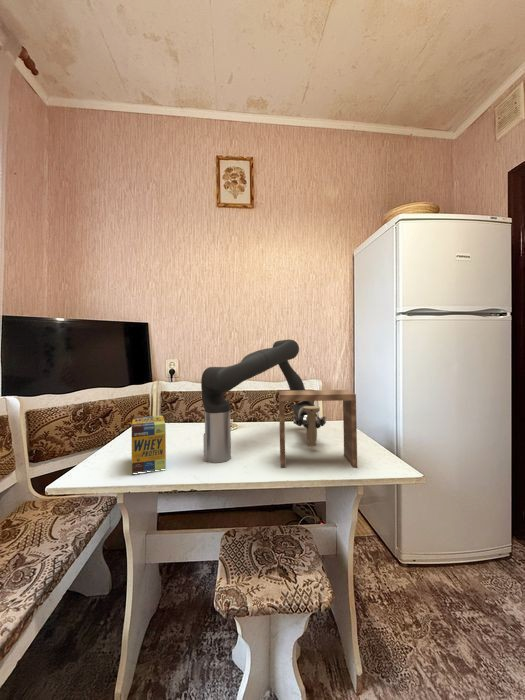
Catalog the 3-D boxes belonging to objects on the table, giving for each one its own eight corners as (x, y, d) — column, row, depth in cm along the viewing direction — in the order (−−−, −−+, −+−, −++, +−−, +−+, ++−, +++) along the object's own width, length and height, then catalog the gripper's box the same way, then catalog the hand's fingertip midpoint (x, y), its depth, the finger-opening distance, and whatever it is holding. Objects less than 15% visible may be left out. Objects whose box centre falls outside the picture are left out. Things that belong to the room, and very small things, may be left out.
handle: (320, 448, 112) (320, 408, 112) (303, 447, 113) (303, 408, 113) (319, 444, 117) (319, 406, 117) (303, 443, 118) (302, 406, 118)
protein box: (131, 476, 93) (131, 426, 94) (133, 460, 108) (132, 417, 108) (166, 470, 97) (165, 423, 97) (163, 456, 112) (162, 414, 112)
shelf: (280, 467, 98) (279, 395, 98) (280, 455, 110) (278, 390, 110) (357, 467, 97) (355, 394, 97) (348, 455, 109) (346, 389, 109)
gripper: (291, 407, 130) (293, 416, 112) (323, 407, 129) (331, 415, 112) (291, 424, 130) (294, 435, 112) (323, 424, 129) (331, 435, 112)
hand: (312, 425), depth 112 cm, fingers closed on handle, 3 cm apart
